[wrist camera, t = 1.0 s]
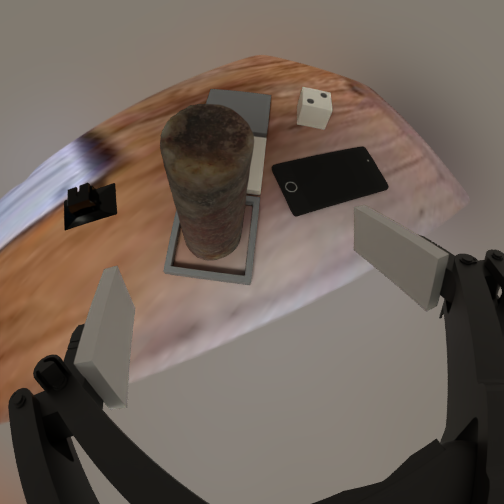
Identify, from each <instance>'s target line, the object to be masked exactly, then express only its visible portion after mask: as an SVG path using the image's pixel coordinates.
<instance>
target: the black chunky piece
mask: <svg viewBox="0 0 504 504" xmlns="http://www.w3.org/2000/svg"><path fill="white" fill-rule="evenodd" d="M116 214H117V205H116V189H115V183H113V184H110V185H107V186H104V187H101V188H98V189H95V188H94V187H93V185H92V186H90V184H89V183H86V184H83V185H80V186H79V192H77V187H75V188H72V189H69V190H68V200H65V201H64V226H65V230H68V229H71V228H74V227H77V226H80V225H83V224H86V223H89V222H93V221H96V220H99V219H102V218H106V217H109V216H112V215H116Z"/></svg>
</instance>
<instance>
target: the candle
mask: <svg viewBox="0 0 504 504" xmlns="http://www.w3.org/2000/svg"><path fill="white" fill-rule="evenodd" d="M253 148H254V135H253V132H252V130H251V128H250V126H249V124H248V123H247V121H245V120H244V119H243V118H242V117H241V116H240V115H239V114H238V113H237V112H235V111H234V110H232V109H231V108H228V107H226V106H223V105H217V104H197V105H190V106H189V107H187V108H186V109H184V110H181V111H180V112H178V113H177V114H176V115H174V116H173V117H171V118H170V120H169V121H168V122H167V123H166V125H165V127H164V129H163V131H162V134H161V140H160V149H161V154H162V157H163V162H164V167H165V170H166V174H167V178H168V181H169V185H170V189H171V192H172V195H173V199H174V203H175V207H176V210H177V213H178V217H179V221H180V224H181V228H182V232H183V235H184V239H185V241H186V245H187V247H188V248H189V250H190V251H191V252H192V253H193V254H194V255H195V256H196V257H198V258H201V259H204V260H217V259H220V258H222V257H225V256H227V255H229V254H230V253H232V252H233V251H234V250H235V249H236V247H237V246H238V244H239V241H240V237H241V231H242V225H243V216H244V209H245V202H246V195H247V187H248V181H249V174H250V166H251V160H252V155H253Z"/></svg>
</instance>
